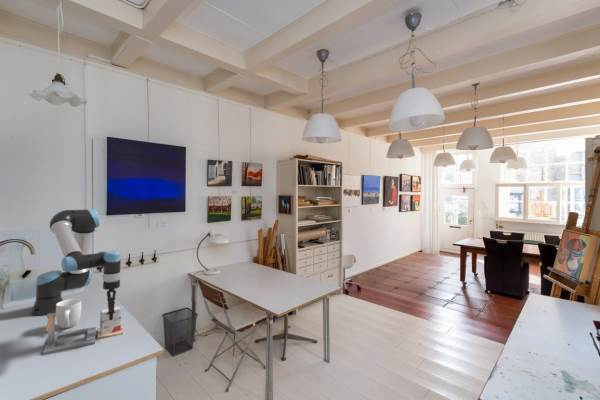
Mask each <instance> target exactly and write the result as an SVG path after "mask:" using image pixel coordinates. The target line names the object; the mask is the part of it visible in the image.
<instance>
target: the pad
mask: <svg viewBox="0 0 600 400" xmlns="http://www.w3.org/2000/svg"><path fill="white" fill-rule="evenodd" d="M120 334H121V335H123V334H124V330H123V324H122V323H121V330H118V331H115V332H111V333H108V334H104V335H102V334H101V333H100V327H99V328H97V340H101V339H105V338H110V337H115V336H120Z"/></svg>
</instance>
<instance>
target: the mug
mask: <svg viewBox="0 0 600 400" xmlns="http://www.w3.org/2000/svg"><path fill="white" fill-rule="evenodd" d="M81 314H82V299H79V298H70V299H65V300H63V301H61V302H59V303H57V304H56V316H55V320H56V323H57V324H58V326H59V327H60V328H61V329H70V328H73V327H74V326H76V325H77V324H78V322H79V320H80V318H81Z"/></svg>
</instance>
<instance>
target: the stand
mask: <svg viewBox="0 0 600 400" xmlns="http://www.w3.org/2000/svg"><path fill="white" fill-rule="evenodd" d="M48 319H49V318H47V320H48ZM55 321H56V316H55V317H53V320H52V325H51V329H50V331H47V342H46V344H45V348H44V350H43V352H42V353H43V354H42V355H43V356H44V355H49V354H54V353H58V352H62V351H63V352H64V351H68V350H72V349H78V348H83V347H87V346H91V345H95V343H96V330H97V329H96V328H97V327H96V326H93V327H92V326H91V327H87V328H81V329H76V330H70V331H66V332H60V333H55ZM82 334H86V340H83V341H77V342H73V343H68V344H63V345H58V346H57V342H58V339H62V338H66V337H72V336H76V335H77V336H78V335H82Z"/></svg>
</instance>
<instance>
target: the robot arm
mask: <svg viewBox="0 0 600 400" xmlns="http://www.w3.org/2000/svg"><path fill="white" fill-rule="evenodd" d="M100 224H101V219H100V216H99V212H98V211H97V210H95V209H89V208H88V209H64V210H62V211H61V210H60V211H58V212H57V213H56V214H55V215H53V216H52V217H51V219H50V222H49V229H50V232H51V233H52V234H54V235H55V238H56V240H57V243H58V245H59V247H60V250H61V253H62V254H63V257H62V259H61V269H62V270H60V269H59V270H58V269H57V270H50V271H46V272H44V273H41V274H39V275H38V276H37V277H36V281H35V285H36V286H35V288H36V290H35V301H34V303H33V306H32V307H31V315H33V316H47V314H49V313H53V312H55V313H56V304H57V303H59V302H61V301H64V300H63V297H62V292H64V291H70V290H75V289H81V288H85V287H87V286H89V285H90V283H91V281H92V277H93V276H92V275H93V273H92V269H95V268H103V274H102V275H101V277H102V279H103V283H102V289H103V290H107V291H106V297H107V309H108V313H107V314H108V326H112V325H114V312H115V311H114V307H115V304H116V301H115V300H116V295H117V291H116V289H118V288H120V286H121V264H122V263H121V262H122V257H121V255H122V254H121V252H120V251H119V250H109V251H98V252H95V253H90V245H91V240H92V239H91V238H92V234H93V233H94V232H95V230H96V229H97V228H100Z"/></svg>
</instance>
